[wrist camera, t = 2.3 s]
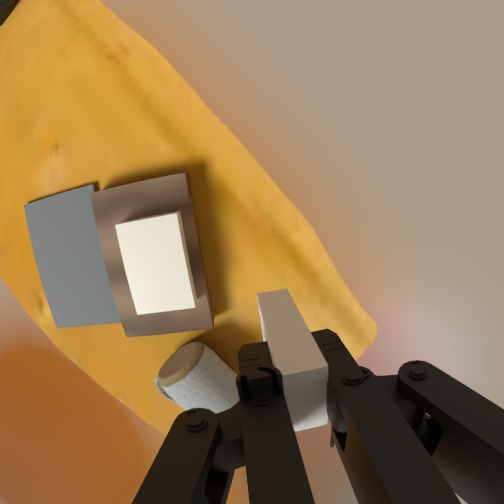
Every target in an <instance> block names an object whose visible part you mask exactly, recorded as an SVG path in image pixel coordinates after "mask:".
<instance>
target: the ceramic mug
mask: <svg viewBox="0 0 504 504" xmlns="http://www.w3.org/2000/svg"><path fill="white" fill-rule="evenodd" d="M236 377H237V374H236V373H235V372H234V371H233V370H232V369H231V368H230V367H229V366H228V365H227V364H225V363H224V362H223V361H222V360H221V359H220V358H219V357H218V355H217V354H216V353H215V352H214V351H212V350H211V349H210V348H209V347H207V346H206V345H205V344H203V343H201V342H190V343H188V344H186V345H184V346H182V347H181V348H179V349H178V350H177V351H176V352H174V353H173V354H172V355H171V356H170V357H169V358H168V359H167V361H166V362H165V363H164V364H163V366H162V367H161V369H160V371H159V375H158V376H157V377H156V380H155V384H156V387H157V388H158V390H159V391H160V392H161V393H162V394H163V395H164V396H165V397H166V398H168V399H169V400H171V401H172V402H174V403H176V404H179V405H180V406H181V407H182V408H183V409H184V410H185V411H186V410H189V409H192V408H206V409H210V410H211V411H213V412H214V413H216V414H217V413H219V412H222V411H225V410H227V409H229V408H231V407H233V406H234V405H235V404H236V403H237V402H238V401H239V395H238V390H237V386H236Z"/></svg>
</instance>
